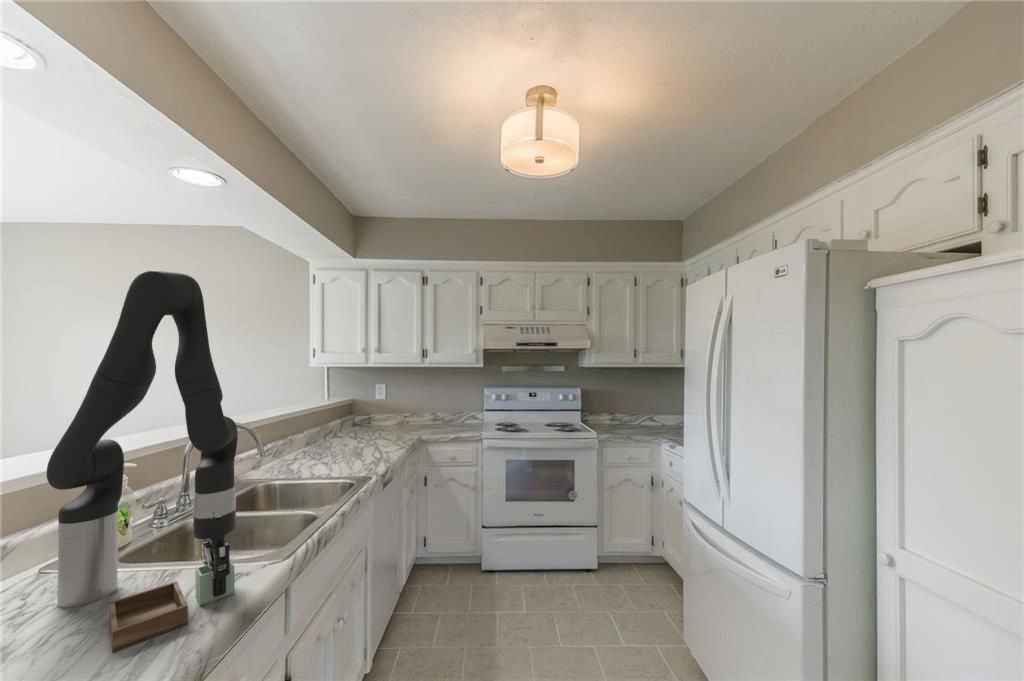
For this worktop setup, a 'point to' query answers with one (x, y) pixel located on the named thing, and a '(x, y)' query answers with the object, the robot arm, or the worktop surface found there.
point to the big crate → (146, 615)
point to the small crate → (211, 584)
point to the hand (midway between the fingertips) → (215, 587)
